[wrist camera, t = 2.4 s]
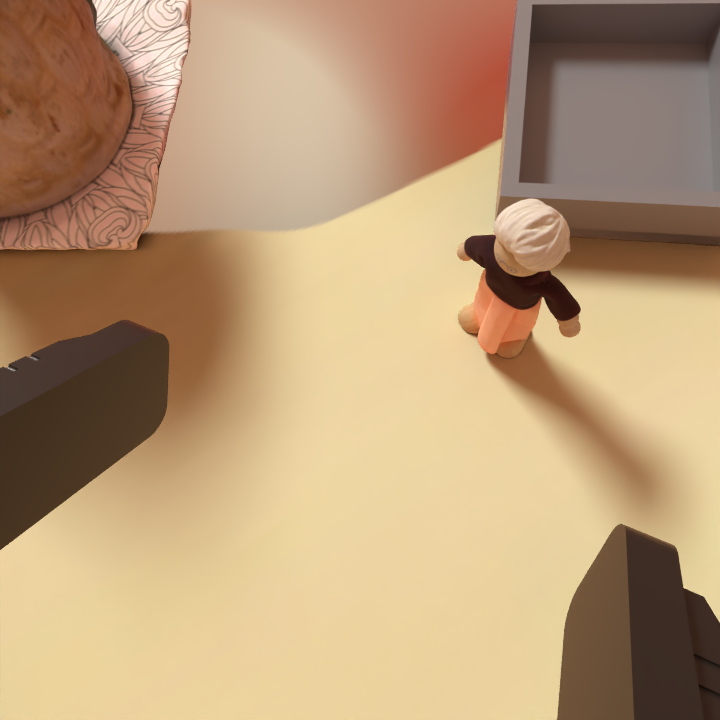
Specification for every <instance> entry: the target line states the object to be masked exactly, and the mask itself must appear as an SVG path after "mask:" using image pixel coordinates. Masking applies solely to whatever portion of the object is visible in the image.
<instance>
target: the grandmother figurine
mask: <svg viewBox="0 0 720 720" xmlns="http://www.w3.org/2000/svg"><path fill="white" fill-rule="evenodd" d="M494 233H495V235H481V236H471V237H470V238H468V239H467V240H466V241H465V242H464V243H462V244H460V245H459V247H458V249H457V255H458V257H459V258H460V259H461V260H463V261H469V260H471V259H473V261H475V262H476V263H477V264H479V265H480V266H481V267H483V268H485V270H484V271H483V273H482V276H481V279H480V283H479V287H478V290H477V292H476V296H475V300H474V303H471V304H469V305H467V306H465V307H464V308H462V309H461V311H460V312H459V316H458V320H459V323H460V325H461V326H462V328H463V329H464V330H465V331H467V332H469V333H478V343H479V345H480V346H481V348H482V349H483V350H484V351H486V352H488V353H490V354H495V353H497V354H498V355H500V356H502V357H505V358H512V357H515V356H517V355H518V354H519V353H520V352H521V350H522V349H523V347H524V345H525V343H526V341H527V339H528V337H529V335H530V332H531V330H532V329H533V327H534V326H535V323H536V320H537V317H538V314H539V309H540V305H541V300H542V297H544V299H545V302H546V304H547V306H548V308H549V310H550V312H551V313H552V314H553V315H554V317H555V318H556V319H557V322H558V323H559V330H560V332H561V334H562V335H563V336H565V337H574V336H576V335H577V334H578V333H579V331H580V323H579V321H578V320H579V316H578V314H579V313H580V311H581V309H580V306H579V304H578V302H577V301H576V300H575V299H574V298H573V296H572V295H571V294H570V293H569V291H568V290H567V289H566V287H565V286H564V285H563V284H562V283H561V282H560V281H559V280H558V279H557V278H556V277H555V276H553V275H551V273H550V271H549V270H550V269H552V268H554V267H555V266H557V265H558V264H559V263H560V262H561V261H562V259H563V257H564V256H565V254H567V253H568V252H569V253H571V250H570V242H569V238H570V230H569V227H568V225H567V222H566V220H565V219H564V218H563V216H562V215H561V214H560V213H559V212H558V211H557V210H555V209H554V208H552V207H550V206H548V205H545V204H544V203H543V202H542V201H540V200H537V199H533V198H532V199H525V200H521V201H519V202H517V203H514V204H512V205H510V206H509V207H507V208H506V209H504V210H503V211H502V212H501V213H500V214H499V216H498V217H497V219H496V221H495V223H494Z"/></svg>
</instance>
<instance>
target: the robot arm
mask: <svg viewBox="0 0 720 720" xmlns="http://www.w3.org/2000/svg"><path fill="white" fill-rule="evenodd" d="M168 366H169V343H168V340H167V338H166V337H165V336H164V335H163V334H160V333H158V332H155V331H153V330H151V329H148V328H146V327H143V326H141V325H138V324H136V323H133V322H131V321H128V320H123V321H119V322H117V323H115V324H113V325H111V326H109V327H106V328H104V329H102V330H100V331H98V332H96V333H94V334H92V335H87V336H82V337H77V338H73V339H68V340H63V341H58V342H56V343H54V344H52V345H50V346H48V347H45V348H43V349H41V350H39V351H37V352H34V353H32V354H31V357H30V358H28V357H24V358H21V359H19V360H17V361H15V362H13V363H10V364H9V366H8V367H7V368H4V367H2V368H0V550H1V549H2V548H4V547H5V546H6V545H8V544H9V543H10V542H12V541H13V540H14V539H15V538H17V537H18V536H19V535H21V534H22V533H23V532H25V531H26V530H27V529H29V528H30V527H31V526H33V525H34V524H35V523H37V522H38V521H39V520H41V519H42V518H43V517H44V516H46V515H47V514H48V513H50V512H51V511H52V510H54V509H55V508H56V507H58V506H59V505H60V504H62V503H63V502H64V501H66V500H67V499H68V498H70V497H71V496H72V495H73V494H75V493H76V492H77V491H79V490H80V489H81V488H83V487H84V486H85V485H87V484H88V483H89V482H91V481H92V480H93V479H95V478H96V477H97V476H99V475H100V474H101V473H103V472H104V471H105V470H106V469H108V468H109V467H110V466H112V465H113V464H114V463H116V462H117V461H118V460H120V459H121V458H122V457H124V456H125V455H126V454H128V453H129V452H130V451H132V450H133V449H134V448H135V447H137V446H138V445H139V444H141V443H142V442H143V441H145V440H146V439H147V438H149V437H150V436H151V435H152V434H153V433H154V432H155V431H156V430H157V428H158V427H159V425H160V424H161V422H162V420H163V418H164V416H165V412H166V408H167V394H168ZM557 720H720V623H719V621H718V619H717V618H716V616H715V615H714V613H713V611H712V610H711V608H710V606H709V605H708V603H707V601H706V600H705V598H704V597H703V596H701V595H698V594H696V593H694V592H691V591H689V590H687V589H684V588H683V583H682V576H681V570H680V563H679V557H678V552H677V549H676V547H675V546H674V545H672V544H669V543H667V542H664V541H662V540H659V539H657V538H655V537H652V536H650V535H647V534H645V533H642V532H640V531H637V530H635V529H633V528H630V527H628V526H625V525H623V524H619V525H617V526H616V527H615V528H614V530H613V531H612V532H611V534H610V535H609V537H608V539H607V540H606V542H605V544H604V545H603V547H602V549H601V550H600V552H599V554H598V555H597V557H596V559H595V560H594V562H593V564H592V565H591V567H590V568H589V570H588V572H587V573H586V575H585V577H584V578H583V580H582V582H581V583H580V585H579V587H578V588H577V590H576V592H575V594H574V596H573V599H572V601H571V604H570V607H569V610H568V614H567V618H566V622H565V629H564V640H563V653H562V666H561V679H560V692H559V705H558V717H557Z"/></svg>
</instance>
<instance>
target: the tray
mask: <svg viewBox="0 0 720 720" xmlns="http://www.w3.org/2000/svg"><path fill="white" fill-rule="evenodd" d="M532 198H533V199H537V200H540V201H542V202H543V203H544V204H545V205H548V206H550V207H552V208H554V209H555V210H557V211H558V212H559V213H560V214H561V215H562V216H563V218H564V219H565V220H566V222H567V225H568V227H569V230H570V237H586V238H603V239H619V240H635V241H652V242H668V243H685V244H701V245H717V246H720V0H517V3H516V10H515V17H514V25H513V31H512V39H511V46H510V57H509V69H508V81H507V92H506V102H505V113H504V125H503V136H502V147H501V158H500V169H499V180H498V192H497V203H496V214H495V221H496V219H497V217H498V216H499V214H500V213H501V212H502V211H503V210H504V209H506V208H507V207H509V206H510V205H512V204H514V203H517V202H519V201H521V200H525V199H532Z"/></svg>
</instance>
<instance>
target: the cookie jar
mask: <svg viewBox="0 0 720 720" xmlns="http://www.w3.org/2000/svg"><path fill="white" fill-rule="evenodd" d="M190 18H191V0H0V250H1V249H18V250H40V249H52V250H68V249H86V250H96V249H113V250H133V249H137V241H138V239H139V237H140V235H141V233H142V232H143V231H144V230H145V229H146V228H147V227H148V225H149V222H150V219H151V216H152V213H153V208H154V205H155V199H156V191H157V183H158V174H159V167H160V164H161V161H162V157H163V154H164V151H165V146H166V141H167V135H168V130H169V125H170V121H171V118H172V115H173V113H174V110H175V105H176V100H177V97H178V93H179V88H180V85H181V83H182V77H181V69H182V66H183V63H184V60H185V58H186V56H187V53H188V46H189V43H190Z"/></svg>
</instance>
